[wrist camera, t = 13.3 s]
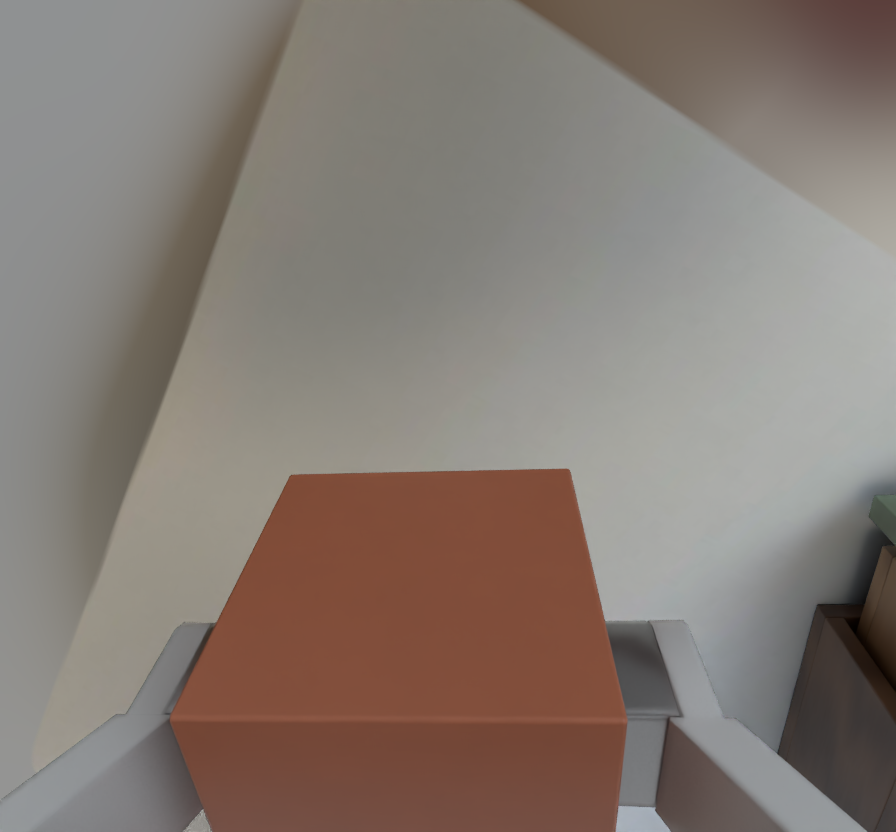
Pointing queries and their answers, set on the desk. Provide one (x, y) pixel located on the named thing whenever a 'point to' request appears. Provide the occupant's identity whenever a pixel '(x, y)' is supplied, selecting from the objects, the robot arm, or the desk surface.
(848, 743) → the cabinet
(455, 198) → the desk surface
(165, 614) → the desk surface
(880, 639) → the drawer
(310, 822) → the block
